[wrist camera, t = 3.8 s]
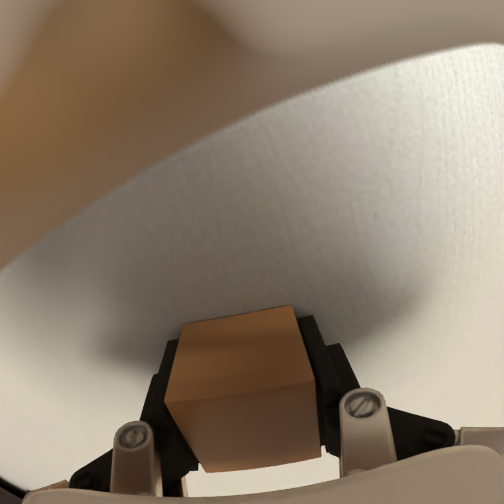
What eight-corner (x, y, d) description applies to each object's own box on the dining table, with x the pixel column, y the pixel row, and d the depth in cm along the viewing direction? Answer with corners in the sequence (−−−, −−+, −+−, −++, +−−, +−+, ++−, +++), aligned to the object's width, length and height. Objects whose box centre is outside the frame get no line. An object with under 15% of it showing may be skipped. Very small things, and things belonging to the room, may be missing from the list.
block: (211, 397, 13) (205, 473, 9) (183, 323, 11) (163, 401, 7) (303, 382, 12) (321, 457, 9) (291, 303, 11) (315, 379, 7)
